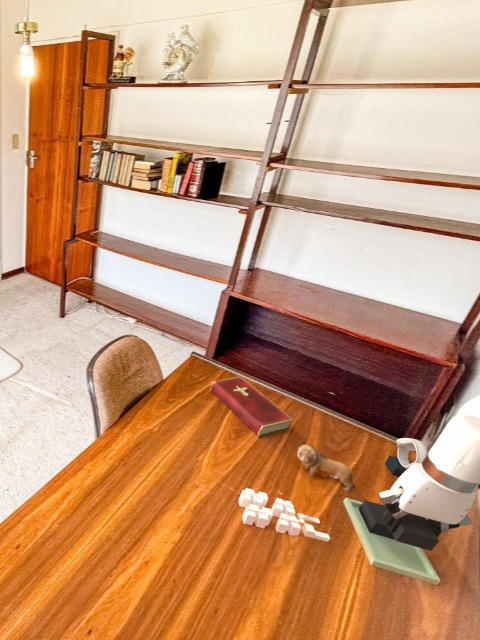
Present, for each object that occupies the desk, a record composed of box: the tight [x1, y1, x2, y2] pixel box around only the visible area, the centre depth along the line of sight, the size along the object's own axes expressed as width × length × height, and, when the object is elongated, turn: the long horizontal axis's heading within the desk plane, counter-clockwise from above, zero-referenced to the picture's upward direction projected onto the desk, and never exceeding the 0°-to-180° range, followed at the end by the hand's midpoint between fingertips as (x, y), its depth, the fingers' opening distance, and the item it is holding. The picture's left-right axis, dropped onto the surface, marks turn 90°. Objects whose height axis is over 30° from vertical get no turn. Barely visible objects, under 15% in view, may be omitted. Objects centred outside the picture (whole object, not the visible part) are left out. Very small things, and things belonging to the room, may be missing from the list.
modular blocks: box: [238, 487, 331, 543], centre depth 92 cm, size 20×7×4 cm, turn 75°
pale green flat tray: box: [343, 497, 441, 586], centre depth 90 cm, size 12×16×2 cm
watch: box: [384, 437, 429, 478], centre depth 105 cm, size 6×8×11 cm
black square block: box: [359, 499, 395, 540], centre depth 92 cm, size 6×6×4 cm
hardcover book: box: [209, 375, 294, 438], centre depth 126 cm, size 12×21×4 cm, turn 16°
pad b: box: [383, 507, 440, 552], centre depth 83 cm, size 6×6×4 cm
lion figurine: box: [296, 444, 356, 493], centre depth 103 cm, size 15×5×9 cm, turn 69°
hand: (407, 530), depth 84 cm, fingers closed on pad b, 6 cm apart
